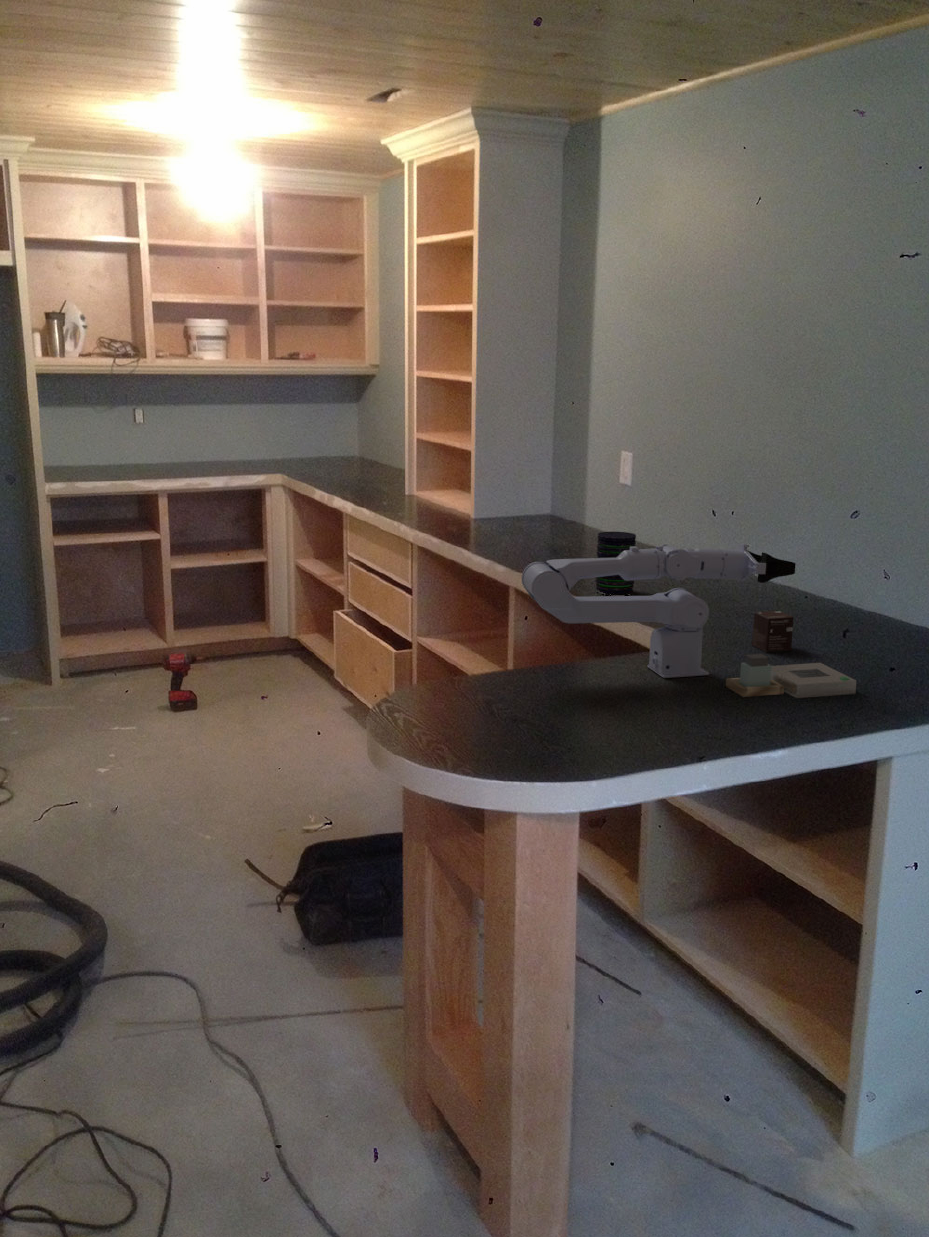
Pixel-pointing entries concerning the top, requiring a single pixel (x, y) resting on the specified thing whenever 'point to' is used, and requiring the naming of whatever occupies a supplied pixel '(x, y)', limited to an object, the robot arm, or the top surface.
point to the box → (772, 631)
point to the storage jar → (612, 548)
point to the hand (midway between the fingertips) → (785, 566)
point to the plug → (755, 671)
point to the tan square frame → (754, 688)
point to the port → (812, 680)
